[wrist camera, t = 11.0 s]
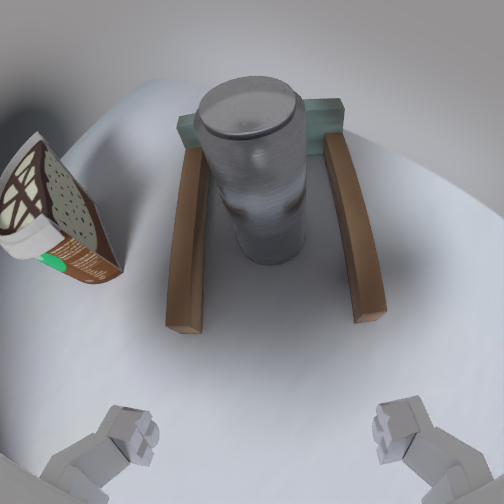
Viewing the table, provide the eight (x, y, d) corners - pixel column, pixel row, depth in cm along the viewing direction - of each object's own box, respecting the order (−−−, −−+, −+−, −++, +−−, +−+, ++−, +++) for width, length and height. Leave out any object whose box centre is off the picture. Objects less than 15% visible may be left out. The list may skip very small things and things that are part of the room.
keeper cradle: (180, 333, 19) (146, 316, 14) (195, 156, 26) (179, 116, 21) (376, 320, 17) (401, 298, 13) (336, 142, 24) (339, 98, 20)
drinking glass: (239, 267, 20) (181, 145, 10) (238, 210, 22) (196, 81, 12) (308, 261, 20) (314, 129, 9) (301, 204, 22) (296, 68, 11)
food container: (50, 229, 25) (-10, 174, 16) (92, 194, 26) (37, 128, 17) (77, 327, 20) (-18, 284, 11) (130, 286, 21) (42, 220, 12)
